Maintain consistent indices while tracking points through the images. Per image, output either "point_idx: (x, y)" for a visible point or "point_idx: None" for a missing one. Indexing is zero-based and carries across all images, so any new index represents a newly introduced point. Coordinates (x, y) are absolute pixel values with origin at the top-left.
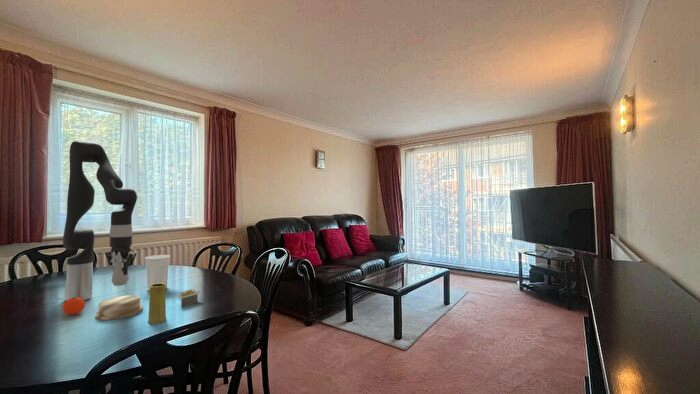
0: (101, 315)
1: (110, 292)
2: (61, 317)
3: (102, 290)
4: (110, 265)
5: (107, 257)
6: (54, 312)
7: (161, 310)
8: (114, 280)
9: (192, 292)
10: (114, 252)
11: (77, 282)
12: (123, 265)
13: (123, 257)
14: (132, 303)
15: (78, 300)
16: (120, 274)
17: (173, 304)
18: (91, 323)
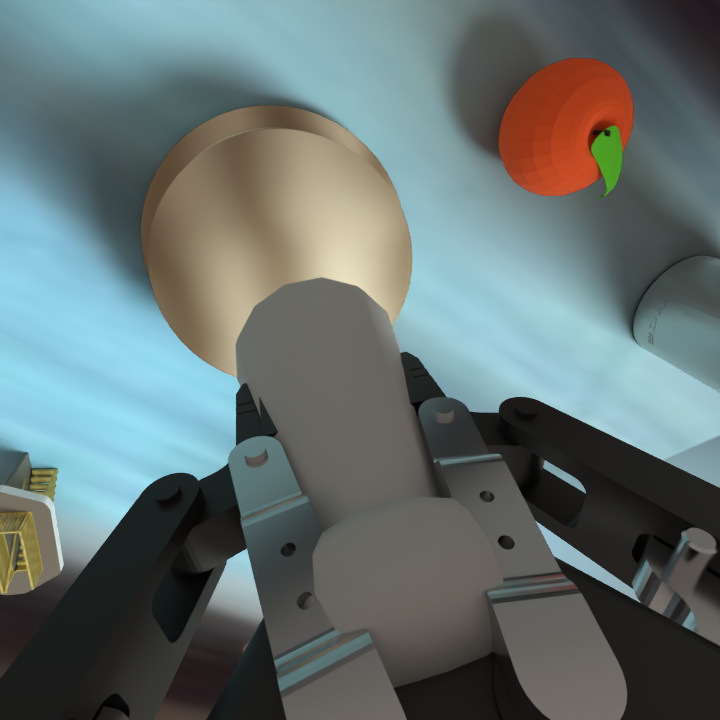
0: (284, 127)
1: (605, 414)
2: (552, 57)
3: (658, 413)
4: (502, 402)
5: (674, 486)
6: (656, 113)
7: None
8: (300, 286)
9: (39, 567)
10: (558, 699)
11: None
12: (231, 475)
13: (253, 638)
14: (153, 281)
15: (551, 134)
16: (261, 362)
17: (122, 453)
18: (252, 27)
